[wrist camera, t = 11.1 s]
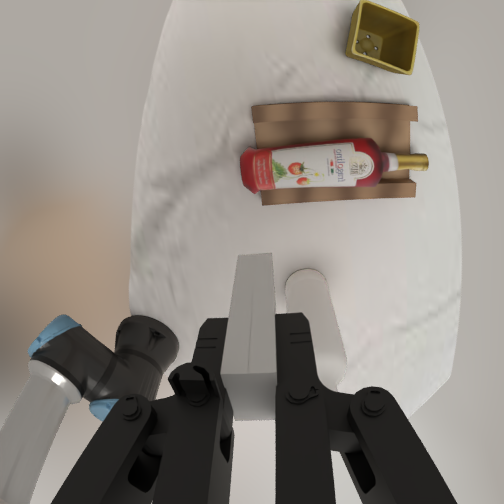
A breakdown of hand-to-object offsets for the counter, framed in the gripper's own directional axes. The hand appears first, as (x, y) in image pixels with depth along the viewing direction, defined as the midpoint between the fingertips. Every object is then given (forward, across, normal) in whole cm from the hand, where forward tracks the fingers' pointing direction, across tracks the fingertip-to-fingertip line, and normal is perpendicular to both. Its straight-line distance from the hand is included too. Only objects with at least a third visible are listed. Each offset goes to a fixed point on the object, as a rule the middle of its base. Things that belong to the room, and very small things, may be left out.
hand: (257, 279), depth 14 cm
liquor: (+30, -3, -2) cm, 30 cm away
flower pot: (+34, +18, +17) cm, 42 cm away
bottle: (+34, +6, -25) cm, 43 cm away
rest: (+34, +12, 0) cm, 36 cm away
